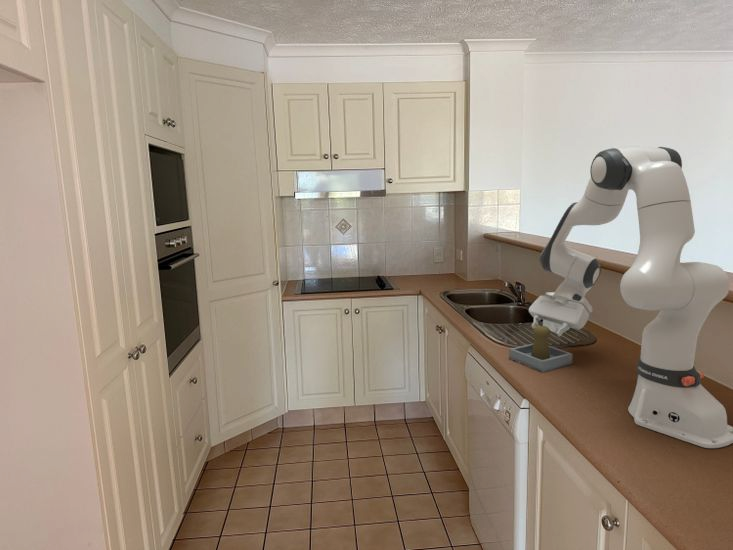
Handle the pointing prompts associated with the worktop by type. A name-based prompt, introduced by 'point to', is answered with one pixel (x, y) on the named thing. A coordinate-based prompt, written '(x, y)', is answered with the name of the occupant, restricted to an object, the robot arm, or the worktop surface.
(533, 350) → the cork
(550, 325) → the skincare box
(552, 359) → the tray
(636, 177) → the robot arm
